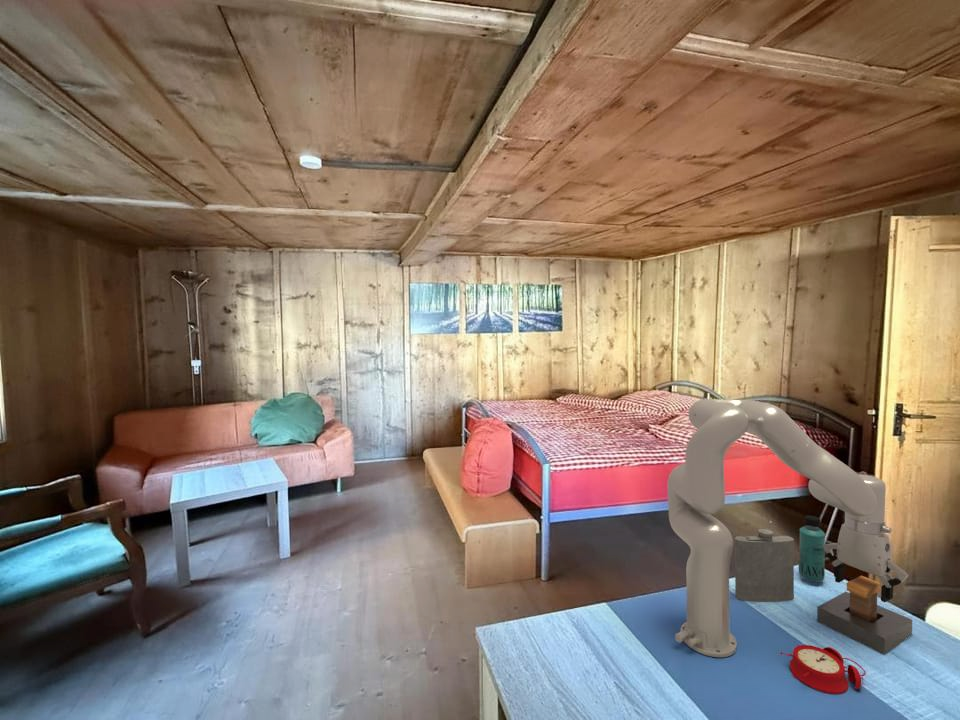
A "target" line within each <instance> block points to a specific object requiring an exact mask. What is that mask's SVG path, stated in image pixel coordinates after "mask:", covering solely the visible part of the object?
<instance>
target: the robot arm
mask: <svg viewBox="0 0 960 720" xmlns="http://www.w3.org/2000/svg"><path fill="white" fill-rule="evenodd" d="M688 420H689V422H690V424H691V425H692V426H693V427H694V428H695V429H696V431H695V433H693V435H692V436H690V439H689V440H688V442H687V444H686V448H685V456H684V457H685V459H684V461H685V462H684V463H682V464H679V465H677V466H676V467H674V468H673V469H672V470H671V471H670V473H669V476H668V479H667V502H668V503H667V506H668V507H667V509H668V521H669V523H670V527H671V529H672V530H673V532H674V533H675V534H676V535H677V536H678V537H679V538H680V539H681V540H682V541H683V542H684V543H685V544H687V545H688V547H689V549H690V554H689V556H688V559H687V562H686V569H685V571H686V572H685V573H686V574H685V577H686V581H685V582H686V621H685V622H683V624H682V625H681V626H680V631H679V632H677V633H675V634H674V639H675V641H676V642H677V643H679V644H680V643H682V642H684V643H685V644H686V645H687V646H688V647H689V648H691V649H692V650H694V651H695V652H697V653H699V654H702V655H705V656H709V657H713V658H726V657H730V656H732V655H733V654H735V653H736V651H737V649H738V648H737V647H738V643H737V639H736V637H735V636H734V635H733V633H732V632H731V631H730V566H731V559H732V554H733V550H734V539H733V535H732V534H731V532H730V529H728V527H727V526H726V525H725V524H724V523H723V522H722V521H720V520H719V519H718V518H716V517H714V516H713V515H714V514H718V513H720V511H722V510H723V507H724V506H725V500H726V489H725V488H726V486H725V485H726V484H725V456H726V454H727V451H728V450H729V448H731V446H732V445H733V444H734V443H735V442H737V440H739V439H741V438H742V437H743V436H744V435H745V433H749V434H752V435H754V436H756V437H757V438H758V439H759V440H761V442H762V443H763V444H764V445H765V446H767V447H768V448H769V450H771V452H772V453H774V455H775V456H776V457H777V458H778V459H779V460H780V461H781V462H782V463H783V464H784V465H785V466H787V467H788V468H790V469H792V470H793V471H795V472H796V473H798V474H800V475H802V476H803V477H806V478H807V479H810V480H809V481H808V484H807V485H808V491H809V493H810V494H811V495H812V496H813V498H815V499H817V500H818V501H820V502H822V503H824V504H827V505H829V506H831V507H833V508H836V509H839V510H840V511H843V512H844V523H842V524H841V527H840V530H839V534H838V538H837V542H833V543H825V545H823V548H824V550H825V554H826V557H827V558H828V560H830V562H831V565H832V566H833V577H834V582H835V583H841V582H843V581H845V574H846V567H845V565H847V566H850V567H852V568H855V569H858V570H860V571H863V572H864V573H865V572H866V573H868V574H871V575H873V576H877V577H878V578H879V579H880V581H881V582H882V583H883V584H881V585H880V601H881V602H883V603H887V602H889V601H890V600H892V599H893V597H894V587H896V586H897V585H900V584H902V583H904V581H905V580H906V579H907V578H908V577H909V573H907V571H905V570H903V569H902V568H901V567H900V566H898V565H897V564H896V563H894V561H893V555H892V545H891V540H890V537H889V535H888V534H891V533H892V528H891V527H888V526H887V525H886V522H885V518H886V517H885V514H886V511H885V510H886V489H887V487H886V486H887V485H886V483H885V482H884V480H882V479H881V478H879V477H875V476H874V475H867V474H860V473H859V474H858V473H857V472H856V471H855V470H854V469H852V468H851V467H849V466H848V465H847V464H845V463H844V462H843V461H841V460H840V459H838V458H837V457H835V456H834V455H833V454H831V453H830V452H829V451H827V450H826V449H825V448H824V447H821V446H820V445H818V444H817V443H816V442H814V440H813V439H811V437H809V435H808V434H807V433H806V432H805V431H804V430H803V429H802V428H801V427H800V426H799V425H798V424H797V423H796V422H795V421H794V420H793V419H792V418H791V417H790V416H789V415H788V414H787V413H786V411H784V410H783V409H782V408H780V407H779V406H777V405H776V404H775V405H774V404H771V403H766V402H763V401H762V402H761V401H757V400H752V399H751V400H750V399H721V398H720V399H719V398H715V399H714V398H704V399H699V400H696V401H695V402H693V404H692V405H691V406H690V408H689V410H688ZM833 550H836V554H835V552H834V551H833ZM844 564H845V565H844ZM892 572H894V573H895V574H896V577H895V578H893V577H892V574H890V573H892Z"/></svg>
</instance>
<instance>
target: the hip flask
mask: <svg viewBox="0 0 960 720" xmlns="http://www.w3.org/2000/svg"><path fill="white" fill-rule="evenodd" d="M757 533H758V535H751V536H748V535H747V536H742V535H741V536H740V535H739V536H738V535H737V536H735V537H734V562H735V563H734V568H735V569H734V570H735V571H734V580H735V582H734V584H735V585H734V587H735V589H734V590H735V592H734V593H735V594H734V595H735V598H736V599H737V600H739V601H742V602H753V603H755V602H756V603H760V602H761V603H777V602H778V603H779V602H781V603H782V602H788V601H789V602H790V601H794V599H795V598H794V596H795V595H794V594H795V589H794V587H795V586H794V585H795V584H794V583H795V581H794V580H795V577H794V576H795V571H794V570H795V565H794V564H795V561H794V560H795V538H793V537H791V536H789V535H776V536H774V532H773V531H772V530H770V529H766V528H759V529H758V530H757Z"/></svg>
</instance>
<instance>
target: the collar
mask: <svg viewBox="0 0 960 720" xmlns="http://www.w3.org/2000/svg"><path fill="white" fill-rule="evenodd" d="M816 611H817V619H816V620H817V622H818V623H820V624H821V625H824V626H826V627H828V628H830V629H832V630H834V631H836V632H838V633H840V634H842V635H844V636H846V637H847V638H850V639H852V640H854V641H856V642H857V643H860V644H862V645H864V646H866V647H868V648H869V649H872V650H873V651H875V652H878V653H879V654H882V655H884V656H885V655H886V654H888V653H890V652H891V651H892V650H894V649H895V648H896V647H898V646H900V643H901V642H902V643H903V642H905V641H906V640H907V639H906V638H908V637H909V636H910V637H912V636H913V619H912V618H909V617H906V616H904V615H902V614H900V613H898V612H895V611H894V610H893V611H892V610H890V609H889V608H886V607H883V606H882V605H881V606H880V605H878V604H877V621H875V622H874V623H870V622H868V621H866V620H864V619H861V618H859V617H857V616H855V615H853V614H850V592H849V591H848V592H847V591H844V592H842V593H840V594H839V595H836V596H834V597H833V598H831V599H829V600H827V601H826V602H823V603H822V604H820V605H818V606H817V610H816ZM911 635H912V636H911ZM910 637H909V638H910ZM909 638H908V639H909ZM905 639H906V640H905ZM904 640H905V641H904ZM902 643H901V644H902Z"/></svg>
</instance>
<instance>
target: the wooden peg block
mask: <svg viewBox="0 0 960 720" xmlns="http://www.w3.org/2000/svg"><path fill="white" fill-rule="evenodd" d="M847 591H848V592H849V593H850V614H853V615H855V616H857V617H859V618H861V619H864V620H866V621H868V622H870V623H874V622H875V621H877V605H878V593H879V592H881V582H879V581H876V580H874V579H871V578H869V577H866V576H863V575H860V576H858V577H856V578H854V579H851V580H849V581H847V582H846V592H847Z"/></svg>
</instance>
